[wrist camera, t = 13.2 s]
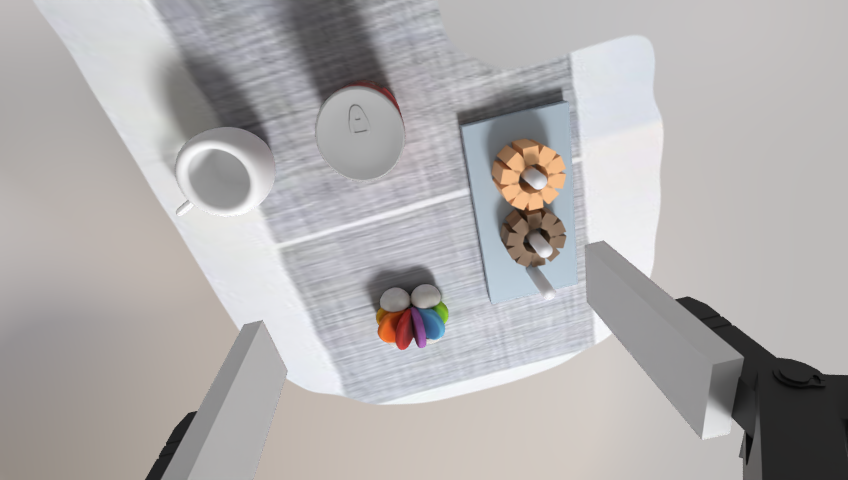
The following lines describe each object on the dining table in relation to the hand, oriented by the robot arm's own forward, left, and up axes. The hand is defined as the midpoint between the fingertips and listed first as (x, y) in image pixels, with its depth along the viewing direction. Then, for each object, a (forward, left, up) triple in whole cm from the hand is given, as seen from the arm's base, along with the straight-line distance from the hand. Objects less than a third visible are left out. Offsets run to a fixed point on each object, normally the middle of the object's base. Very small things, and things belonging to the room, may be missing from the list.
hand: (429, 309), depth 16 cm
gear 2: (+13, +13, -30) cm, 35 cm away
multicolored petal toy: (+22, -4, -32) cm, 39 cm away
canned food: (-4, -3, -32) cm, 32 cm away
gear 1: (+5, +13, -30) cm, 33 cm away
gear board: (+11, +13, -32) cm, 36 cm away
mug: (-2, -19, -32) cm, 37 cm away
